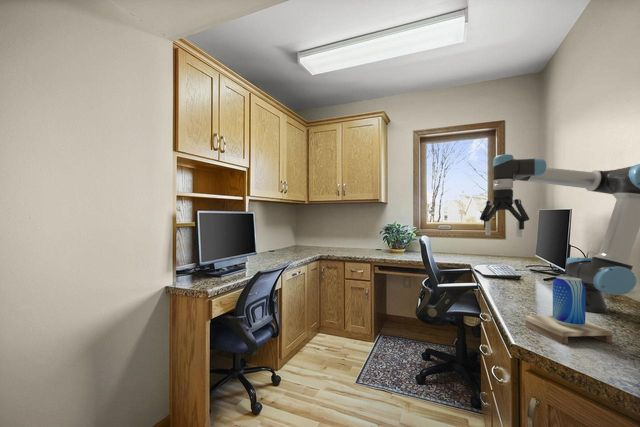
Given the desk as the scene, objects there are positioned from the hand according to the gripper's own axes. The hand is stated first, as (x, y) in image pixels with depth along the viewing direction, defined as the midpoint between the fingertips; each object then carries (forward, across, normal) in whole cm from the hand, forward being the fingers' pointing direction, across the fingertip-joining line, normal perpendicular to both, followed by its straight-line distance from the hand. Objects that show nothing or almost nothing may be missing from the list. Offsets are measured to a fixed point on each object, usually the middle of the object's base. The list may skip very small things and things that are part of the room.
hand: (502, 236), depth 122 cm
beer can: (+29, +27, -8) cm, 40 cm away
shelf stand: (+33, +26, -7) cm, 42 cm away
